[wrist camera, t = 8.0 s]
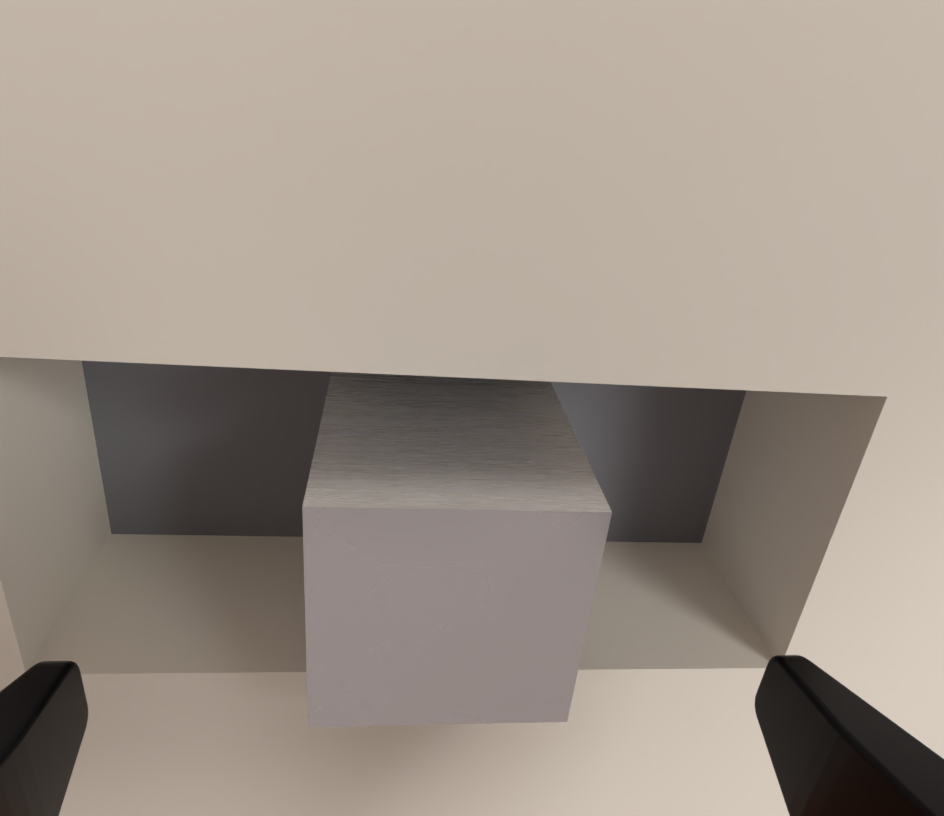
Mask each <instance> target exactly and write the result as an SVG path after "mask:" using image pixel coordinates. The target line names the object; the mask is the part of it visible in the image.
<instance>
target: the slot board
mask: <svg viewBox="0 0 944 816" xmlns="http://www.w3.org/2000/svg"><path fill="white" fill-rule="evenodd" d="M331 372H348V373H370V374H393V375H415V376H437V377H460V378H482V379H504V380H526V381H549V382H551V384H552V386H553V388H554V390H555V392H556V395H557V397H558V399H559V401H560V403H561V405H562V407H563V409H564V412H565V414H566V416H567V418H568V420H569V422H570V424H571V426H572V428H573V431H574V433H575V435H576V437H577V439H578V441H579V443H580V445H581V448H582V450H583V452H584V454H585V456H586V458H587V460H588V462H589V464H590V467H591V469H592V471H593V473H594V475H595V477H596V479H597V481H598V484H599V486H600V488H601V490H602V492H603V494H604V496H605V498H606V500H607V503H608V505H609V507H610V509H611V511H612V515H611V519H610V524H609V529H608V533H607V538H606V543H605V547H604V552H603V557H602V561H601V566H600V571H599V575H598V580H597V585H596V589H595V594H594V599H593V603H592V608H591V613H590V617H589V622H588V627H587V631H586V636H585V641H584V645H583V650H582V655H581V659H580V664H579V669H578V673H577V678H576V683H575V687H574V692H573V697H572V701H571V706H570V711H569V715H568V720H567V722H539V723H491V724H442V725H394V726H345V727H308V708H307V669H306V629H305V590H304V550H303V511H302V506H303V501H304V497H305V492H306V488H307V483H308V478H309V474H310V469H311V464H312V460H313V455H314V451H315V446H316V441H317V437H318V432H319V428H320V423H321V418H322V414H323V409H324V404H325V400H326V395H327V391H328V386H329V381H330V377H331ZM776 655H800V656H803V657H805V658H807V659H808V660H810V661H811V662H813V663H814V664H815V665H817V666H818V667H820V668H821V669H822V670H824V671H825V672H826V673H828V674H829V675H830V676H832V677H833V678H834V679H836V680H837V681H839V682H840V683H841V684H843V685H844V686H845V687H847V688H848V689H849V690H851V691H852V692H854V693H855V694H856V695H858V696H859V697H860V698H862V699H863V700H864V701H866V702H867V703H868V704H870V705H871V706H873V707H874V708H875V709H877V710H878V711H879V712H881V713H882V714H883V715H885V716H886V717H888V718H889V719H890V720H892V721H893V722H894V723H896V724H897V725H898V726H900V727H901V728H902V729H904V730H905V731H907V732H908V733H909V734H911V735H912V736H913V737H915V738H916V739H917V740H919V741H920V742H922V743H923V744H924V745H926V746H927V747H928V748H930V749H931V750H932V751H934V752H935V753H937V754H938V755H939V756H941V757H942V758H943V759H944V0H0V691H1V690H3V689H4V688H5V687H6V686H8V685H9V684H10V683H11V682H13V681H14V680H15V679H17V678H18V677H19V676H20V675H22V674H23V673H24V672H25V671H27V670H28V669H29V668H31V667H32V666H33V665H35V664H37V663H39V662H42V661H73V662H75V663H77V665H78V666H79V669H80V672H81V677H82V681H83V686H84V690H85V695H86V699H87V704H88V721H87V726H86V730H85V733H84V736H83V740H82V743H81V746H80V749H79V752H78V756H77V759H76V762H75V765H74V768H73V772H72V775H71V778H70V781H69V784H68V788H67V791H66V794H65V797H64V800H63V804H62V807H61V810H60V813H59V816H790V815H789V812H788V810H787V807H786V804H785V801H784V798H783V795H782V792H781V789H780V786H779V783H778V780H777V777H776V774H775V771H774V768H773V765H772V762H771V759H770V756H769V753H768V750H767V747H766V744H765V740H764V737H763V734H762V731H761V728H760V725H759V722H758V719H757V716H756V712H755V696H756V693H757V690H758V687H759V685H760V682H761V680H762V677H763V674H764V672H765V669H766V667H767V664H768V662H769V660H770V659H771V658H772V657H773V656H776Z"/></svg>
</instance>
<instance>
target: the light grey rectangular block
mask: <svg viewBox="0 0 944 816" xmlns="http://www.w3.org/2000/svg"><path fill="white" fill-rule="evenodd" d="M302 511H303V550H304V590H305V629H306V669H307V708H308V727H345V726H394V725H442V724H491V723H539V722H567V720H568V715H569V711H570V706H571V701H572V697H573V692H574V687H575V683H576V678H577V673H578V669H579V664H580V659H581V655H582V650H583V645H584V641H585V636H586V631H587V627H588V622H589V617H590V613H591V608H592V603H593V599H594V594H595V589H596V585H597V580H598V575H599V571H600V566H601V561H602V557H603V552H604V547H605V543H606V538H607V533H608V529H609V524H610V519H611V515H612V511H611V509H610V507H609V505H608V503H607V500H606V498H605V496H604V494H603V492H602V490H601V488H600V486H599V484H598V481H597V479H596V477H595V475H594V473H593V471H592V469H591V467H590V464H589V462H588V460H587V458H586V456H585V454H584V452H583V450H582V448H581V445H580V443H579V441H578V439H577V437H576V435H575V433H574V431H573V428H572V426H571V424H570V422H569V420H568V418H567V416H566V414H565V412H564V409H563V407H562V405H561V403H560V401H559V399H558V397H557V395H556V392H555V390H554V388H553V386H552V384H551V382H549V381H526V380H504V379H482V378H460V377H437V376H415V375H393V374H370V373H348V372H331V377H330V381H329V386H328V391H327V395H326V400H325V404H324V409H323V414H322V418H321V423H320V428H319V432H318V437H317V441H316V446H315V451H314V455H313V460H312V464H311V469H310V474H309V478H308V483H307V488H306V492H305V497H304V501H303V506H302Z"/></svg>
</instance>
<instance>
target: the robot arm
mask: <svg viewBox="0 0 944 816" xmlns="http://www.w3.org/2000/svg"><path fill="white" fill-rule="evenodd" d="M755 712H756V716H757V719H758V722H759V725H760V728H761V731H762V734H763V737H764V740H765V744H766V747H767V750H768V753H769V756H770V759H771V762H772V765H773V768H774V771H775V774H776V777H777V780H778V783H779V786H780V789H781V792H782V795H783V798H784V801H785V804H786V807H787V810H788V812H789V815H790V816H944V759H943V758H942V757H941V756H939V755H938V754H937V753H935V752H934V751H932V750H931V749H930V748H928V747H927V746H926V745H924V744H923V743H922V742H920V741H919V740H917V739H916V738H915V737H913V736H912V735H911V734H909V733H908V732H907V731H905V730H904V729H902V728H901V727H900V726H898V725H897V724H896V723H894V722H893V721H892V720H890V719H889V718H888V717H886V716H885V715H883V714H882V713H881V712H879V711H878V710H877V709H875V708H874V707H873V706H871V705H870V704H868V703H867V702H866V701H864V700H863V699H862V698H860V697H859V696H858V695H856V694H855V693H854V692H852V691H851V690H849V689H848V688H847V687H845V686H844V685H843V684H841V683H840V682H839V681H837V680H836V679H834V678H833V677H832V676H830V675H829V674H828V673H826V672H825V671H824V670H822V669H821V668H820V667H818V666H817V665H815V664H814V663H813V662H811V661H810V660H808V659H807V658H805V657H803V656H800V655H776V656H773V657H772V658H771V659H770V660H769V662H768V664H767V667H766V669H765V672H764V674H763V677H762V680H761V682H760V685H759V687H758V690H757V693H756V696H755ZM87 721H88V704H87V699H86V695H85V690H84V686H83V681H82V677H81V672H80V669H79V666H78V665H77V663H75V662H73V661H42V662H39V663H37V664H35V665H33V666H32V667H31V668H29V669H28V670H27V671H25V672H24V673H23V674H22V675H20V676H19V677H18V678H17V679H15V680H14V681H13V682H11V683H10V684H9V685H8V686H6V687H5V688H4V689H3V690H1V691H0V816H59V813H60V810H61V807H62V804H63V800H64V797H65V794H66V791H67V788H68V784H69V781H70V778H71V775H72V772H73V768H74V765H75V762H76V759H77V756H78V752H79V749H80V746H81V743H82V740H83V736H84V733H85V730H86V726H87Z"/></svg>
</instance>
